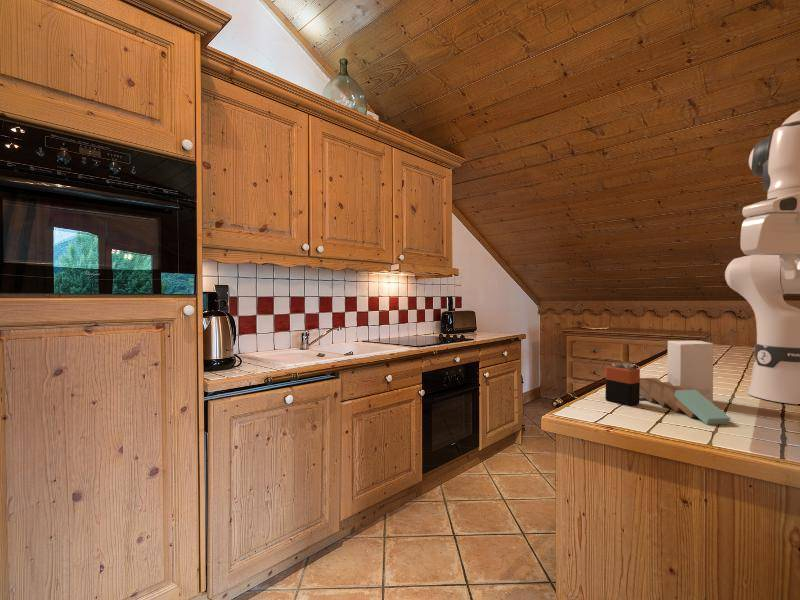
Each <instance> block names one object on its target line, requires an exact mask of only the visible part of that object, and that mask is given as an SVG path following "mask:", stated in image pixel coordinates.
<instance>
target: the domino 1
mask: <svg viewBox="0 0 800 600" xmlns="http://www.w3.org/2000/svg"><path fill="white" fill-rule="evenodd" d="M640 395H641V396H642V397H644V398H645V399H647V400H646V401H648V402H650V403H651V402H657V401H656V400H655V399H654V398H653V397H652V396H651V395H650V394H649V393H648V392H647V391H646V390H645V389H644V388H643V387H641V386H640Z"/></svg>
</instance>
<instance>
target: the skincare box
mask: <svg viewBox="0 0 800 600" xmlns="http://www.w3.org/2000/svg"><path fill="white" fill-rule="evenodd" d="M714 347H715V343H713V342H708V341H703V340H667V372H666V373H667V374H666V375H667V376H666V378H667V379H666V382H670V383H671V384H672V385H673V386H683V387H684V388H685V389H687V390H697V391H698V392H699V393H700V394H701V395H703V396H704V397H705V398H706V399H708V400H709V401H710V402H711V403H712V404H714Z"/></svg>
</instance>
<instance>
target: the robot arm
mask: <svg viewBox="0 0 800 600" xmlns="http://www.w3.org/2000/svg"><path fill="white" fill-rule="evenodd" d="M748 166H749V168H750V170H751V173H752V174H753V175H754V176H755V177H762V182H761V183H762V184H761V186H762V187H761V188H762V189H763V190H764V191H765V192H767V193H766V194H767V196H766V197H767V198H766V199H763V200H761V201H759V202H755V203H752V204H750V205H745V206H743V208H742V216H743V218H745V219H744V220H743V221H742V224H741V228H740V250H741V251H742V253H743V254H744V255H745V256H740V257H737V258H733V259H732V260H731V261H730V262H729V263H728V264H727V267H726V269H725V271H724V279H725V281H726V284H727V286H729V288H730V289H732V290H733V291H734V292H736V293H738V294H739V295H740V296H741V297H743V298H744V299H745V300H746V301H747V302H748V304H749V305H750V307H751V308H752V311H753V312H754V317H755V324H756V343H755V344H754V348H753V351H754V353H753V354H754V355H753V356H754V357H755V361H754V363H753V365H752V372H751V376H750V385H748V386H747V394H748V395H749V396H751V397H755V398H759V399H762V400H767V401H770V402H778V403H784V404H792V405H798V404H800V308H798V307H795V306H793V305H790V304H788V303H787V302H786V301H785V299H784V295H787V294H790V295H800V110H798V111H795V112H794V113H793V114H791V115H790V116H789V117H788V118H786V119H785V120H784V121H783V122H782V124H781V125H779V126H778V127H777V128H775V129H774V130H773V133H771V134H769V136H768V137H766V138H765V137H764V138H763V139H761V140H760V141H758V142H757V143H756V144H755V145H754V146H753V148H752V150H751V152H750V154H749V158H748Z"/></svg>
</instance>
